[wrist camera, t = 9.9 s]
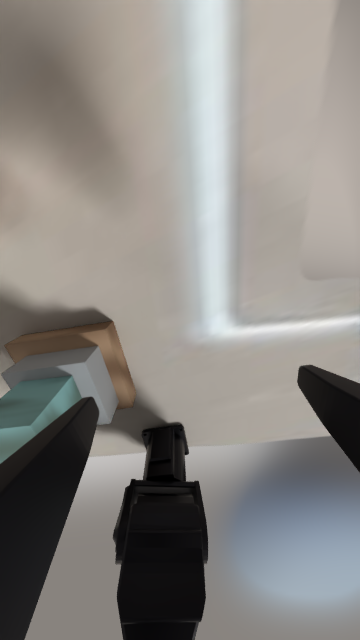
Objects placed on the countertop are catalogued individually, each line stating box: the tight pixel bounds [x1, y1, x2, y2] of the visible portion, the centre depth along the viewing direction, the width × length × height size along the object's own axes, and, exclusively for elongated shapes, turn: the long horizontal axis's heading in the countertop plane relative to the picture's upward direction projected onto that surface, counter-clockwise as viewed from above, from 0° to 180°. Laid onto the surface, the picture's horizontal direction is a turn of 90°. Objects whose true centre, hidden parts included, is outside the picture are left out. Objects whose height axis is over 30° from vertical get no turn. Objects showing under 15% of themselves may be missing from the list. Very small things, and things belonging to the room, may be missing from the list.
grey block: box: [1, 346, 119, 425], centre depth 19 cm, size 8×8×3 cm
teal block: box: [0, 376, 82, 464], centre depth 15 cm, size 5×5×5 cm
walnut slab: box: [4, 321, 136, 409], centre depth 21 cm, size 11×11×3 cm
